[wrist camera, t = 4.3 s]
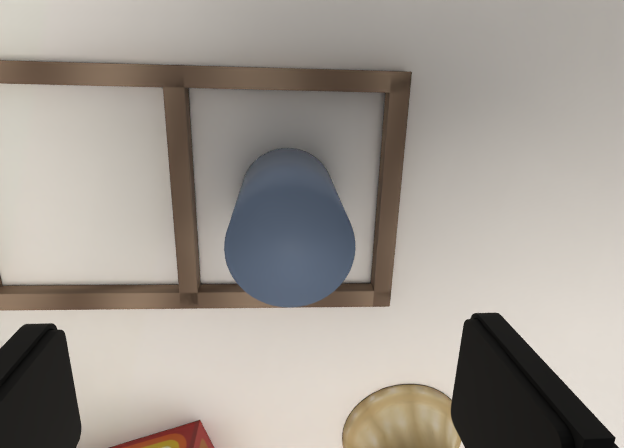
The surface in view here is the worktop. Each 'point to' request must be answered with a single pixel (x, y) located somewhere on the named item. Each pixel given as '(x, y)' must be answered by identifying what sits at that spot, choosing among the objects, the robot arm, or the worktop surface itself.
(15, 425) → the robot arm
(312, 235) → the blue cylinder
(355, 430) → the hand bell
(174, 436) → the baking soda box
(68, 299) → the board
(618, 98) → the worktop surface
